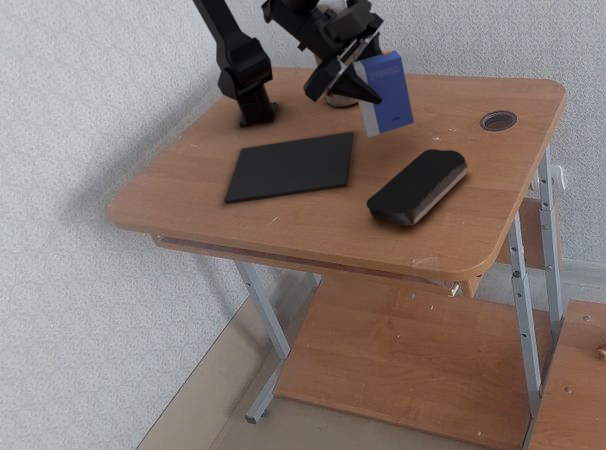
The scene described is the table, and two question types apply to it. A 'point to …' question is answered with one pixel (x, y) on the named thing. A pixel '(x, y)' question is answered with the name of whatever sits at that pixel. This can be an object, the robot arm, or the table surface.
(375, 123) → the walkman
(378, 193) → the black sponge
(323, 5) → the beige cylindrical container
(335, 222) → the table surface
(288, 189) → the mat
